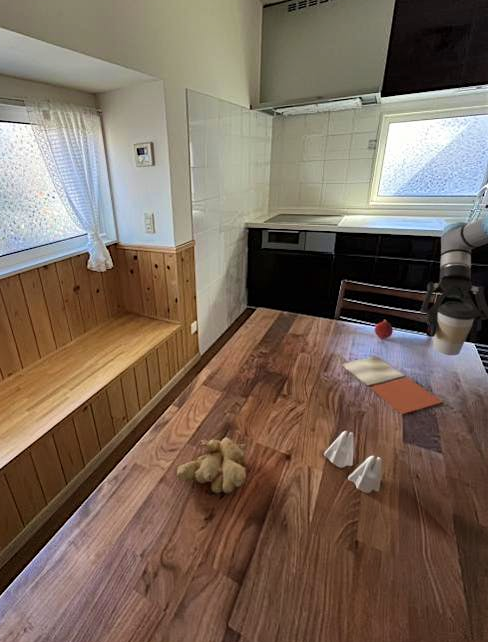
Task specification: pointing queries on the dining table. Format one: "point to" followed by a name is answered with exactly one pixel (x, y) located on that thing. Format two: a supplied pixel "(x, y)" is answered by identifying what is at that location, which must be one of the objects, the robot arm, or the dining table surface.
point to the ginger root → (217, 466)
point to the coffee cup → (453, 327)
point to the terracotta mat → (406, 395)
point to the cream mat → (372, 370)
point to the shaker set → (342, 456)
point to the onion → (383, 330)
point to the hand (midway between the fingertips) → (452, 337)
